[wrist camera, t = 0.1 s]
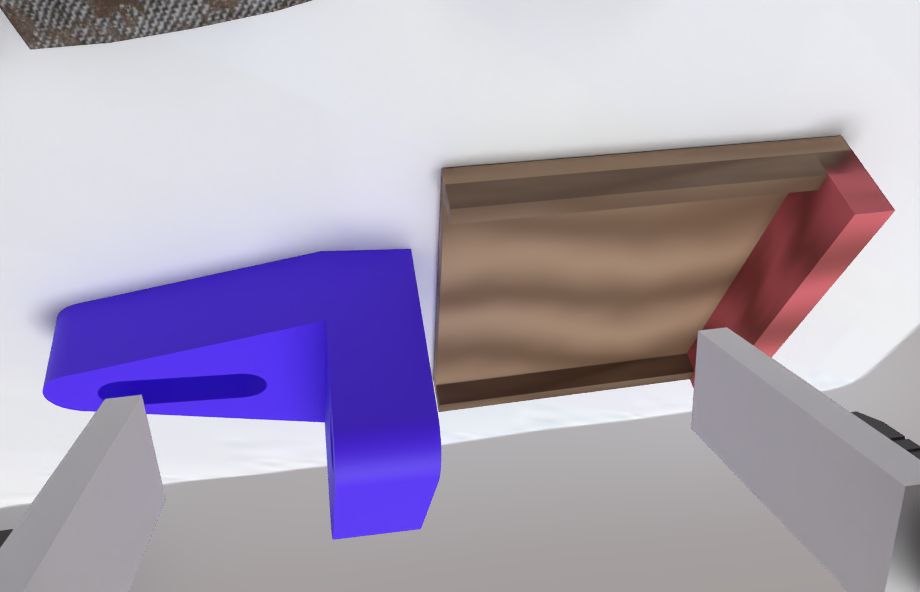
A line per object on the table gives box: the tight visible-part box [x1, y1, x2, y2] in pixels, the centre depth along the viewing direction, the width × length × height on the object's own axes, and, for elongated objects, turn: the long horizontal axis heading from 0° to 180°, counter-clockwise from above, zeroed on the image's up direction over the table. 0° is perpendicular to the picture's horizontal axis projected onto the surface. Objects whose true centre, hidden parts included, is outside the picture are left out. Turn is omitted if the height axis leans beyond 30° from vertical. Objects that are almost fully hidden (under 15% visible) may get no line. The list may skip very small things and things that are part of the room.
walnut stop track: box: [433, 136, 895, 412], centre depth 39 cm, size 20×20×5 cm
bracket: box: [43, 249, 441, 539], centre depth 34 cm, size 18×11×12 cm, turn 80°
